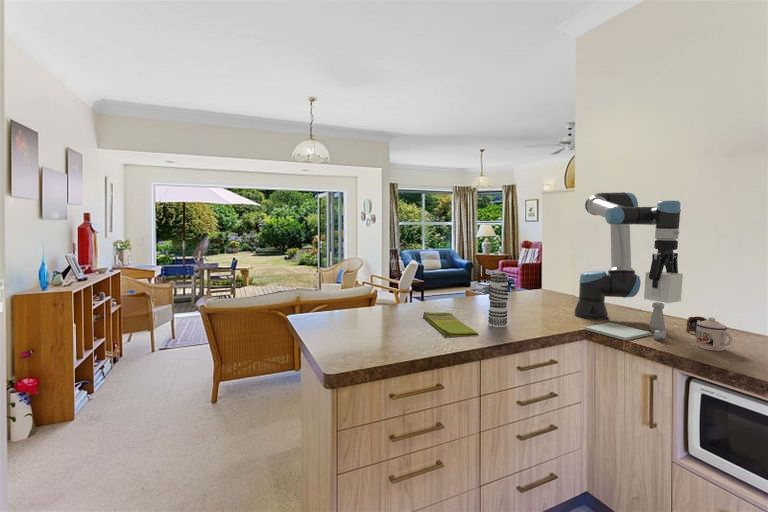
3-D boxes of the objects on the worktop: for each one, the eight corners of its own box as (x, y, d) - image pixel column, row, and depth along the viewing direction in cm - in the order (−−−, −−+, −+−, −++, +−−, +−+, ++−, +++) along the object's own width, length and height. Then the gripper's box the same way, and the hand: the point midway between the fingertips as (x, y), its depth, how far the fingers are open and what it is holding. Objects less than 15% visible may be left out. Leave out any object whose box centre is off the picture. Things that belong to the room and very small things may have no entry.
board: (584, 329, 171) (585, 327, 171) (610, 325, 179) (610, 322, 179) (625, 340, 155) (625, 337, 155) (651, 335, 163) (651, 332, 163)
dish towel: (451, 316, 197) (451, 310, 196) (479, 336, 161) (479, 329, 161) (422, 317, 194) (422, 311, 194) (444, 338, 159) (444, 330, 159)
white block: (643, 298, 156) (645, 272, 156) (656, 297, 161) (658, 271, 160) (668, 303, 148) (670, 275, 148) (680, 301, 153) (682, 273, 152)
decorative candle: (506, 323, 182) (508, 271, 180) (509, 328, 173) (511, 273, 171) (486, 322, 183) (488, 270, 181) (488, 327, 174) (490, 273, 172)
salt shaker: (663, 330, 170) (665, 302, 169) (666, 334, 165) (668, 304, 164) (647, 329, 172) (649, 301, 171) (650, 332, 167) (651, 303, 166)
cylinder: (651, 339, 156) (652, 330, 156) (657, 338, 158) (657, 329, 158) (662, 342, 153) (663, 332, 153) (668, 341, 155) (668, 331, 154)
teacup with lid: (688, 344, 150) (690, 315, 149) (707, 343, 152) (709, 314, 151) (720, 354, 138) (723, 323, 138) (740, 353, 140) (743, 322, 139)
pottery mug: (720, 337, 162) (716, 322, 160) (697, 345, 164) (692, 330, 162) (700, 323, 174) (695, 308, 171) (678, 331, 176) (674, 317, 173)
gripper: (661, 240, 144) (657, 299, 146) (691, 239, 154) (687, 294, 156) (640, 239, 151) (636, 295, 153) (670, 238, 161) (667, 291, 163)
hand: (662, 295), depth 154 cm, fingers closed on white block, 9 cm apart
